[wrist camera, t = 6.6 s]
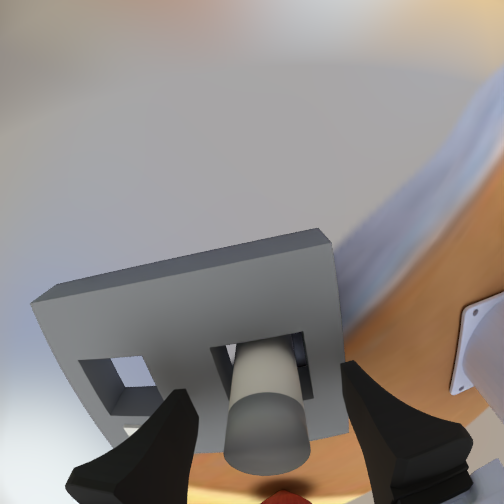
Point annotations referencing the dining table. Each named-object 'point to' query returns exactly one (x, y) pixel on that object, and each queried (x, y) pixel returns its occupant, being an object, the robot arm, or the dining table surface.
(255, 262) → the socket panel
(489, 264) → the dining table surface
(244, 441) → the plug
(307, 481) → the dining table surface
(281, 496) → the red rounded oval piece
